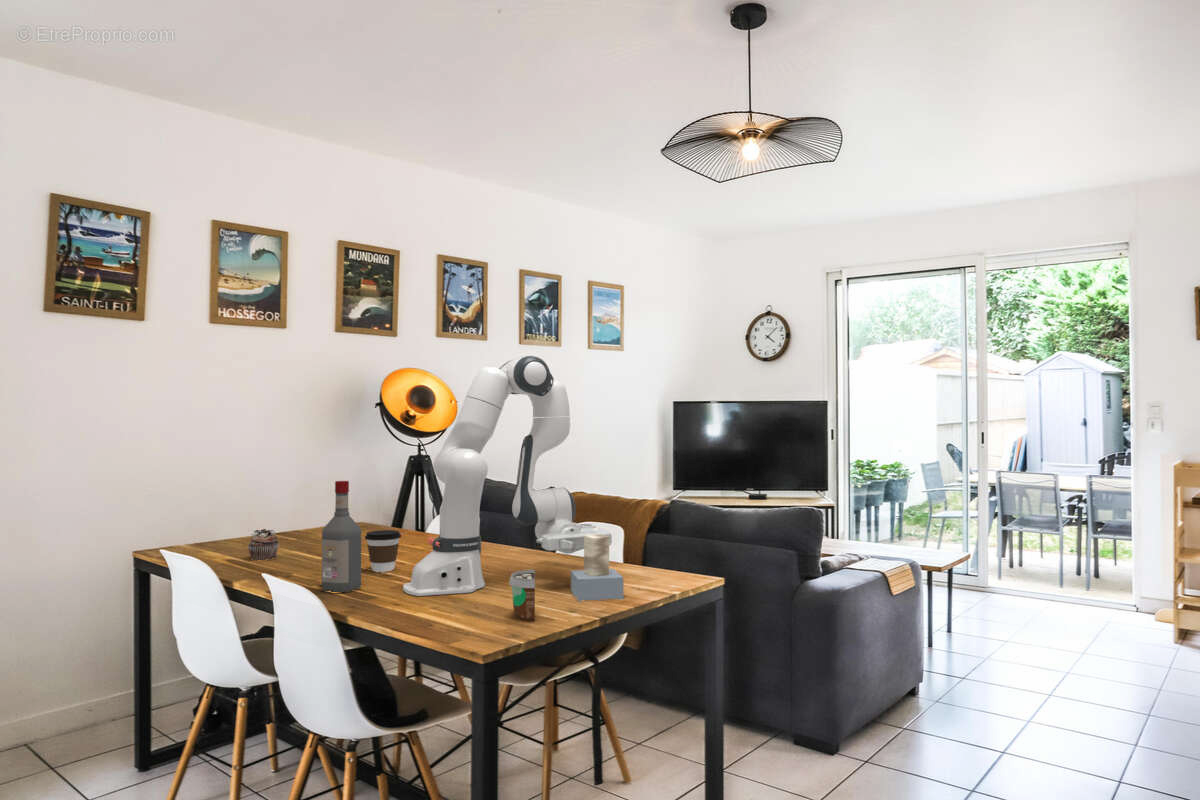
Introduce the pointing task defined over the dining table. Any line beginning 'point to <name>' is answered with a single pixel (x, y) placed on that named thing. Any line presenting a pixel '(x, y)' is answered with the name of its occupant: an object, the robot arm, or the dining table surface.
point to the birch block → (596, 555)
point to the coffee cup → (383, 549)
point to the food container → (523, 594)
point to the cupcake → (263, 545)
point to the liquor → (341, 547)
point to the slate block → (596, 585)
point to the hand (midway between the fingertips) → (588, 544)
